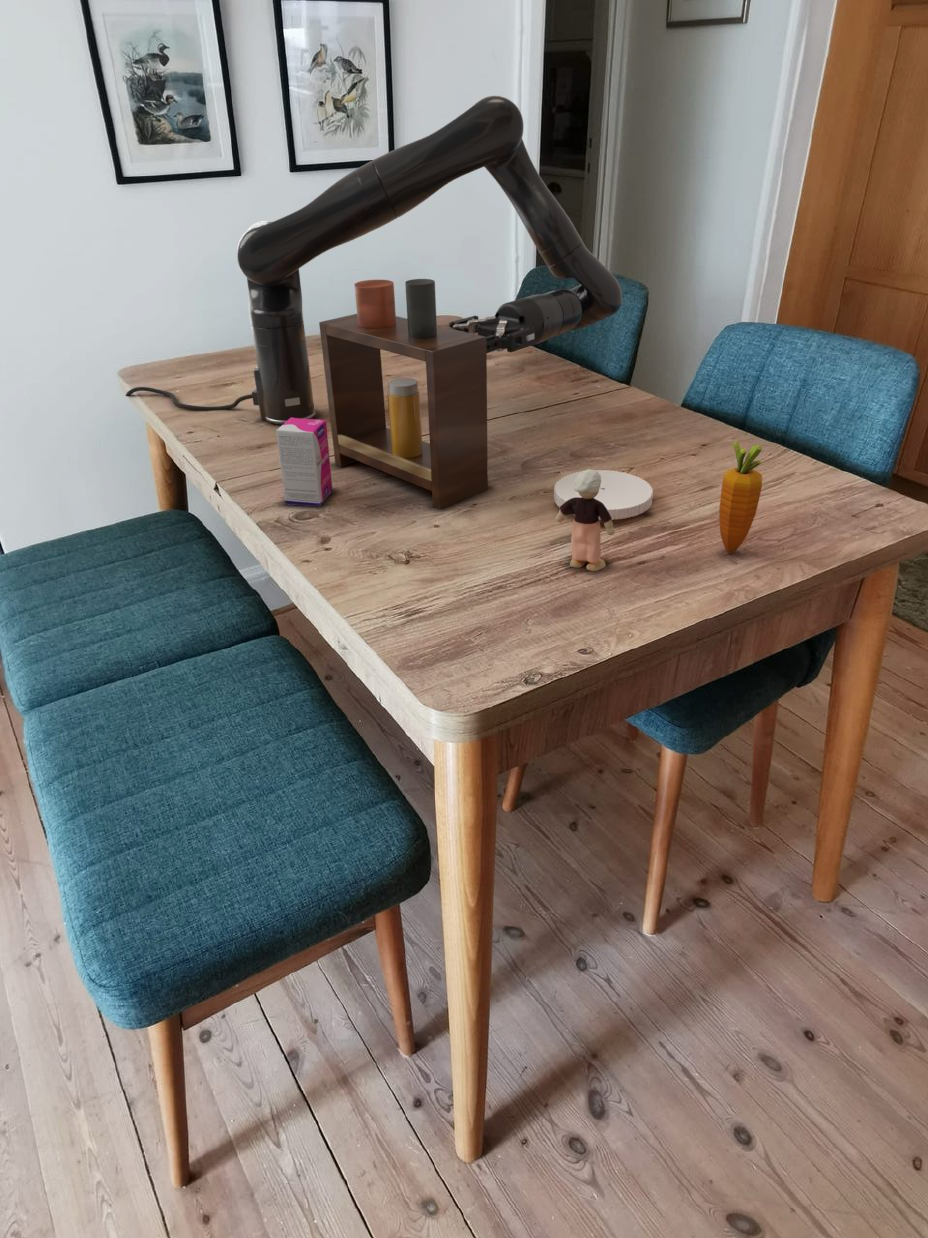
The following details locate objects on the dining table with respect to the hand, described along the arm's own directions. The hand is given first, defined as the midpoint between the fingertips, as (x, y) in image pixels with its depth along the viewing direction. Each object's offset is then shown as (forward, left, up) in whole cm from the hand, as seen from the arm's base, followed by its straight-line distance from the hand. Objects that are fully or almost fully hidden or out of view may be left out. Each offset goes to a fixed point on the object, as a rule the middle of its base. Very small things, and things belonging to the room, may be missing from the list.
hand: (457, 343), depth 128 cm
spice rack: (-6, -10, -18) cm, 22 cm away
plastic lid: (+25, -14, -18) cm, 34 cm away
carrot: (+43, -25, -18) cm, 53 cm away
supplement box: (-18, -21, -18) cm, 33 cm away
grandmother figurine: (+25, -32, -18) cm, 45 cm away
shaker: (-6, -10, -14) cm, 18 cm away
